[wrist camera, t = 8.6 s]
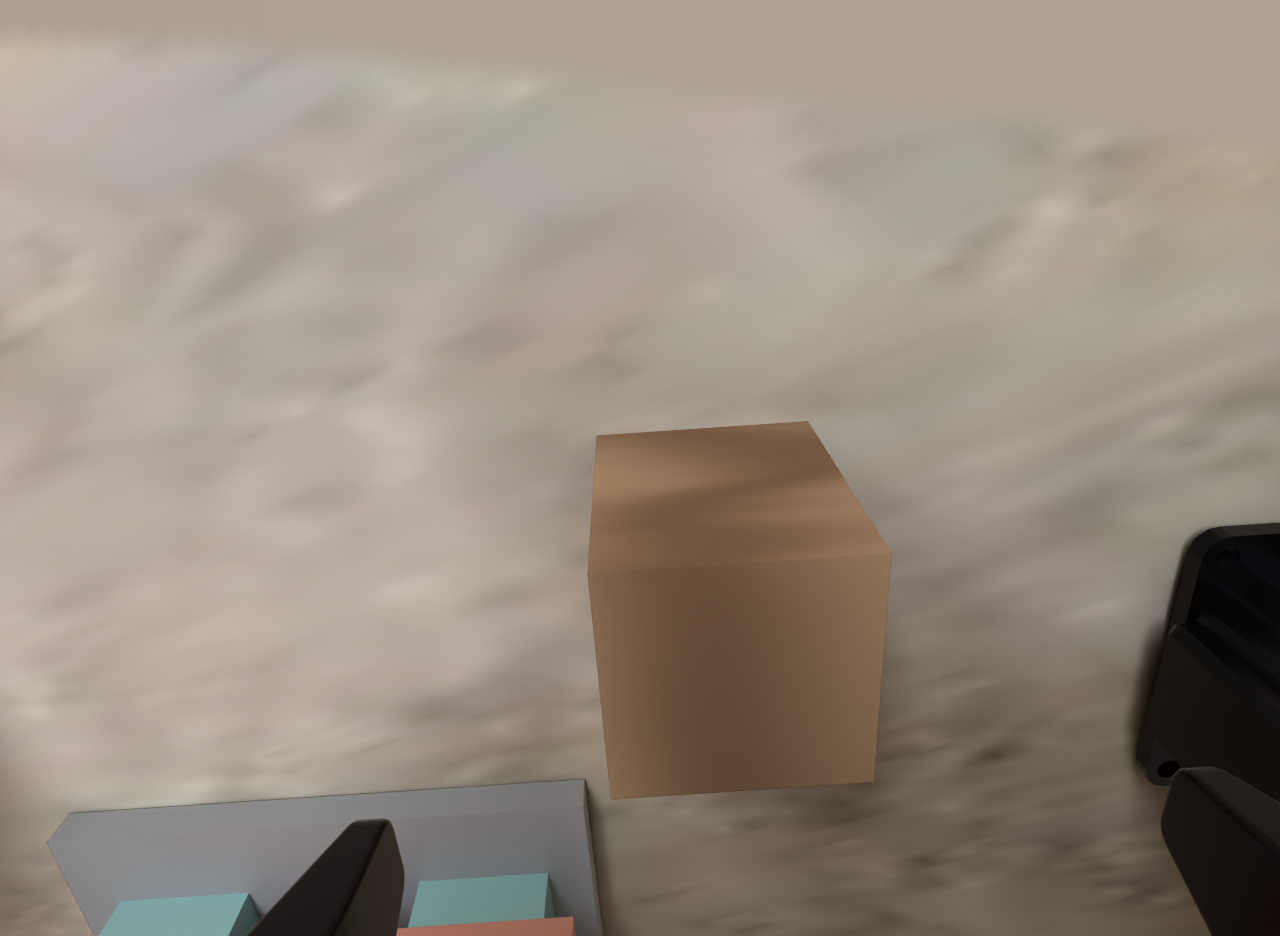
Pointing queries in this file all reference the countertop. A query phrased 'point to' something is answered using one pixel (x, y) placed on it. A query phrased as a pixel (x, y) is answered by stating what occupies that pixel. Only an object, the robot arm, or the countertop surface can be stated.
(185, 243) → the countertop surface
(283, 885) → the build plate
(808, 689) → the block
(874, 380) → the countertop surface
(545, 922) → the bar
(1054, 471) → the countertop surface
